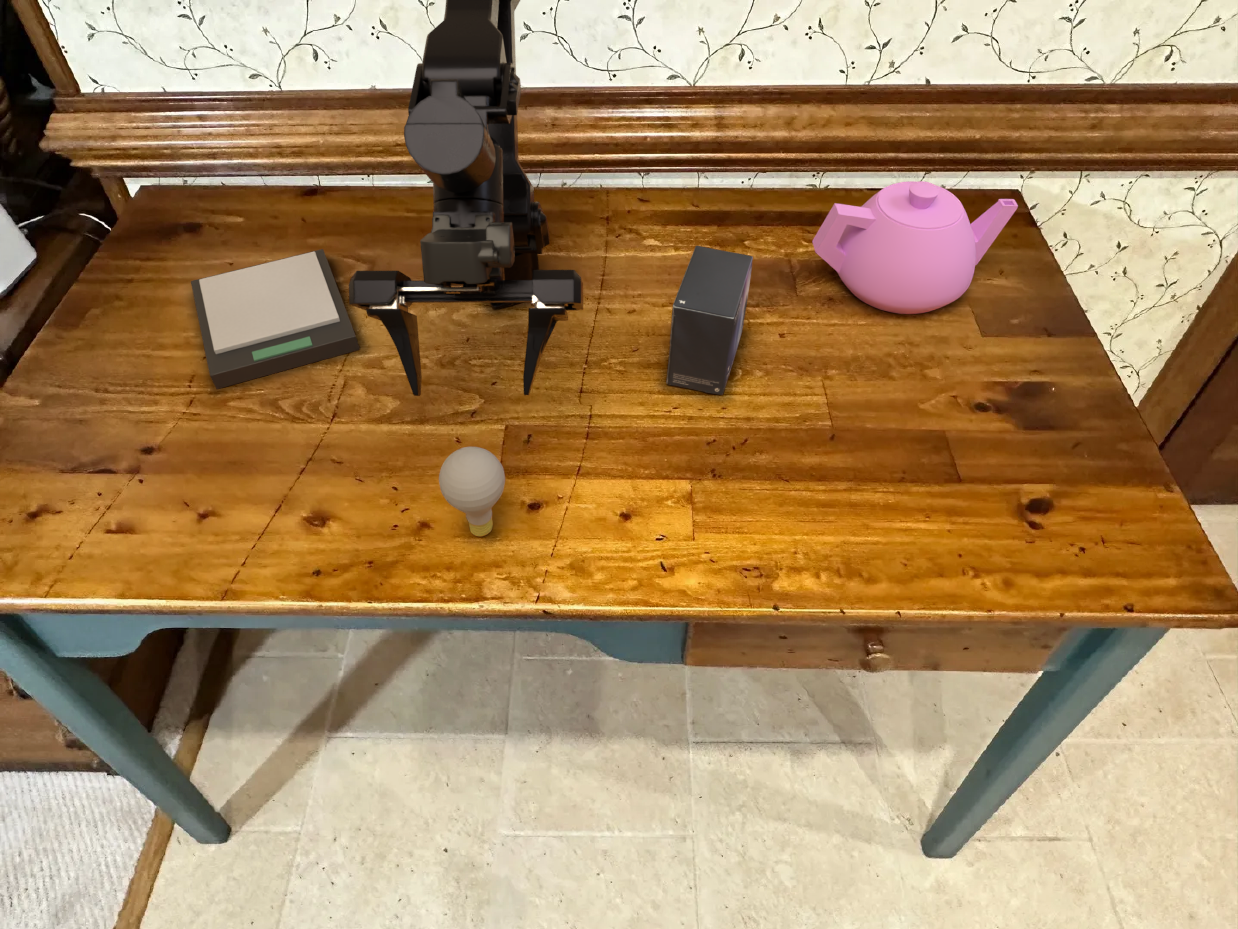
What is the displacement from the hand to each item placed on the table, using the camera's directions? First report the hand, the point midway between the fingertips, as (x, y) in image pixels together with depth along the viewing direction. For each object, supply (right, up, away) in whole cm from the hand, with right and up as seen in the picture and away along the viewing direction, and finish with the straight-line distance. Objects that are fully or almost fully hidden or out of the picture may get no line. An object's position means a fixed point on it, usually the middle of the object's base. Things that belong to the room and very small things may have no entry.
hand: (471, 395), depth 74 cm
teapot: (+45, +16, +29) cm, 56 cm away
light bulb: (0, -12, +6) cm, 13 cm away
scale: (-26, +11, +25) cm, 38 cm away
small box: (+22, +5, +20) cm, 30 cm away
